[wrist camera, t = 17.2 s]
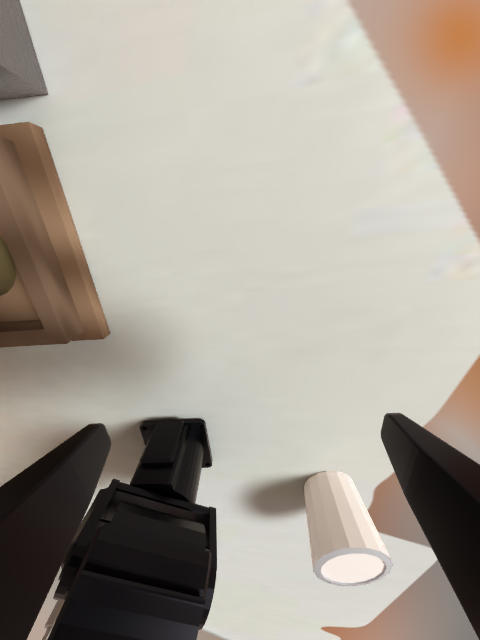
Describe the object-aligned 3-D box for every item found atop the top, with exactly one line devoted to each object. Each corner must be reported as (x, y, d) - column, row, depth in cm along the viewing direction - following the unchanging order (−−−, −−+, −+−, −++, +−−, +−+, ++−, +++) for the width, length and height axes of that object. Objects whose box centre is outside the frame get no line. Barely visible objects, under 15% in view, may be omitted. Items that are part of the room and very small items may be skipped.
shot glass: (332, 511, 29) (356, 594, 23) (286, 492, 28) (297, 574, 22) (372, 481, 27) (411, 565, 20) (324, 458, 26) (349, 540, 19)
